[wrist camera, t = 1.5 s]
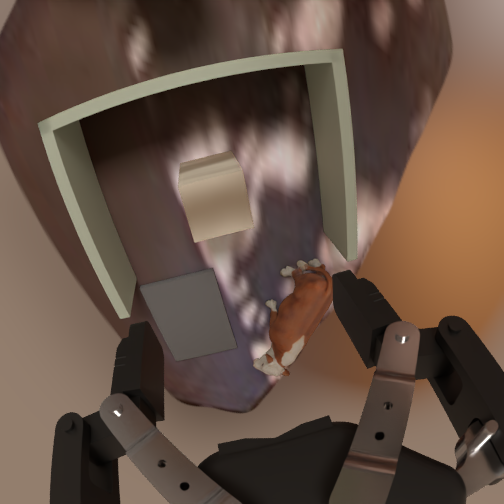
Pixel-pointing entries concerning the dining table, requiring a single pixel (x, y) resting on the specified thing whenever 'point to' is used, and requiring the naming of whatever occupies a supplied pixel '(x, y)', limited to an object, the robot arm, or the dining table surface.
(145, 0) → the dining table surface
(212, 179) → the cream block
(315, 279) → the bull figurine
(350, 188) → the green u-shaped frame
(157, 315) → the grey rectangular plate
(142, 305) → the dining table surface
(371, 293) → the robot arm
